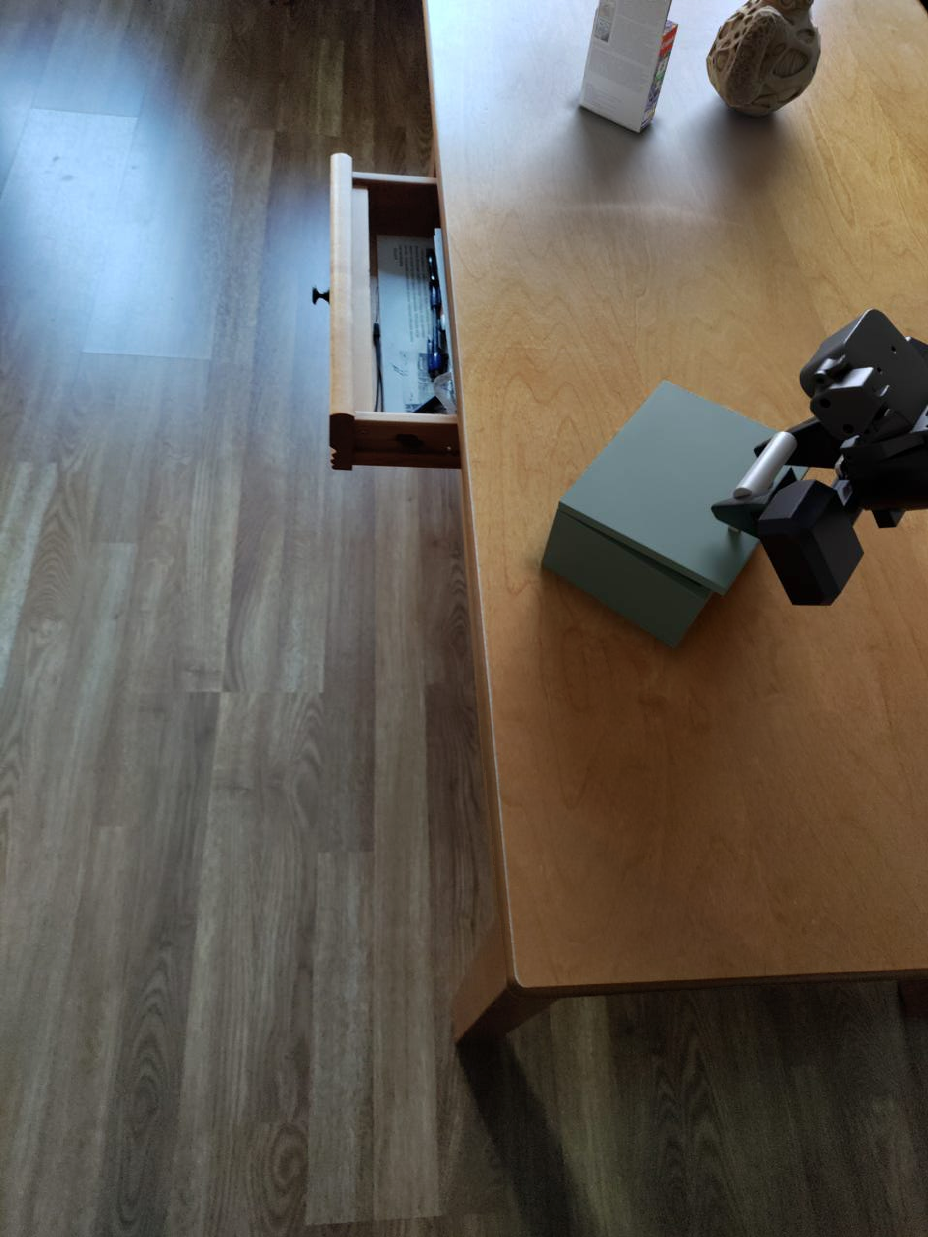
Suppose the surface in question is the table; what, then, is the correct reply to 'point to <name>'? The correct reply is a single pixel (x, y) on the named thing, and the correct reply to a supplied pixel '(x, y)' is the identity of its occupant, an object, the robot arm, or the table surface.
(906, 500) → the robot arm
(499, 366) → the table surface
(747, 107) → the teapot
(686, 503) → the bin lid
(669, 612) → the bin
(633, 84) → the ink box
